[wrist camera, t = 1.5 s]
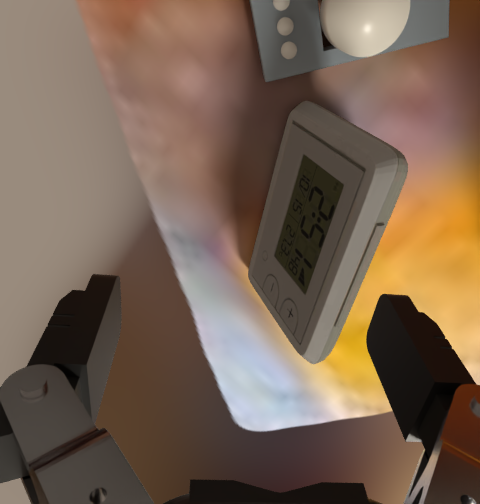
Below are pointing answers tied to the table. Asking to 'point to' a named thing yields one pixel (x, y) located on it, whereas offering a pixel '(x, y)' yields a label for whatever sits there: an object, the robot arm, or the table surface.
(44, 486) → the robot arm
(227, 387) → the table surface
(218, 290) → the table surface
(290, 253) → the digital clock
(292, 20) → the button board
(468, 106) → the table surface
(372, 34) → the button
